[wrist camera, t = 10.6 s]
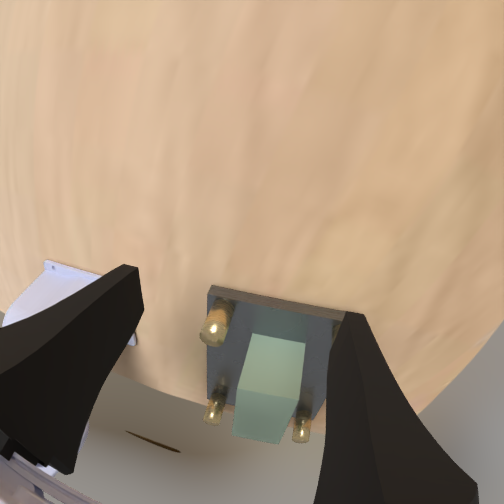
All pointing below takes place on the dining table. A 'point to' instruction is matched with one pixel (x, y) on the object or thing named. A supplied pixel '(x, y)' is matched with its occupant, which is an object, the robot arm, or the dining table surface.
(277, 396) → the board block
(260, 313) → the plate
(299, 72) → the dining table surface
